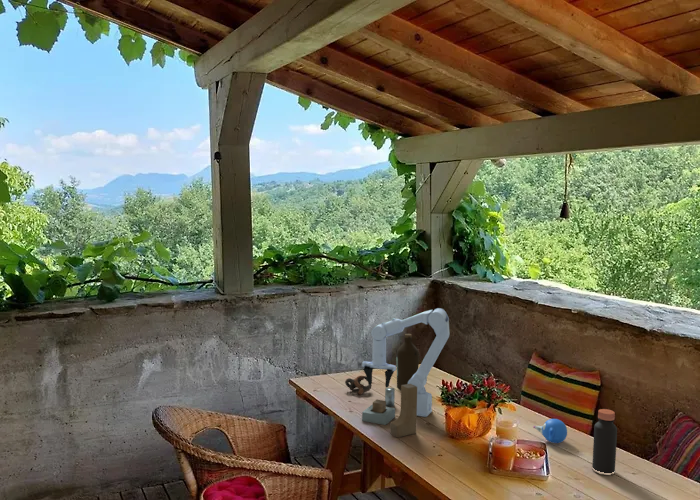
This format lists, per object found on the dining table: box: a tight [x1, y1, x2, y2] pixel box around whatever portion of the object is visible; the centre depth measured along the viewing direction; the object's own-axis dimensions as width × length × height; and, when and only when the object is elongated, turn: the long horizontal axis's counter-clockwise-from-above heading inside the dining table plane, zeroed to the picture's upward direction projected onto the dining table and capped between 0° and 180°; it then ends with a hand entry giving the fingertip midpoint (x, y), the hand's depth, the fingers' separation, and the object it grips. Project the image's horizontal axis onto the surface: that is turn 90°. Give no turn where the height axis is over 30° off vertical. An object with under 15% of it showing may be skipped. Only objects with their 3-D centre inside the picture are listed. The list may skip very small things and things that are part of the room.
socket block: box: [361, 403, 396, 426], centre depth 240 cm, size 10×10×4 cm
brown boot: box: [389, 384, 417, 438], centre depth 224 cm, size 9×4×18 cm, turn 120°
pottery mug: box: [344, 375, 372, 395], centre depth 273 cm, size 12×10×8 cm
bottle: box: [591, 408, 618, 473], centre depth 195 cm, size 7×7×20 cm
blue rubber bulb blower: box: [532, 418, 568, 444], centre depth 220 cm, size 12×12×8 cm
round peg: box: [384, 387, 396, 408], centre depth 256 cm, size 4×4×7 cm
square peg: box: [372, 399, 387, 413], centre depth 240 cm, size 4×4×7 cm
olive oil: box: [395, 333, 420, 390], centre depth 280 cm, size 11×11×25 cm
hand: (378, 385), depth 252 cm, fingers open, 7 cm apart
